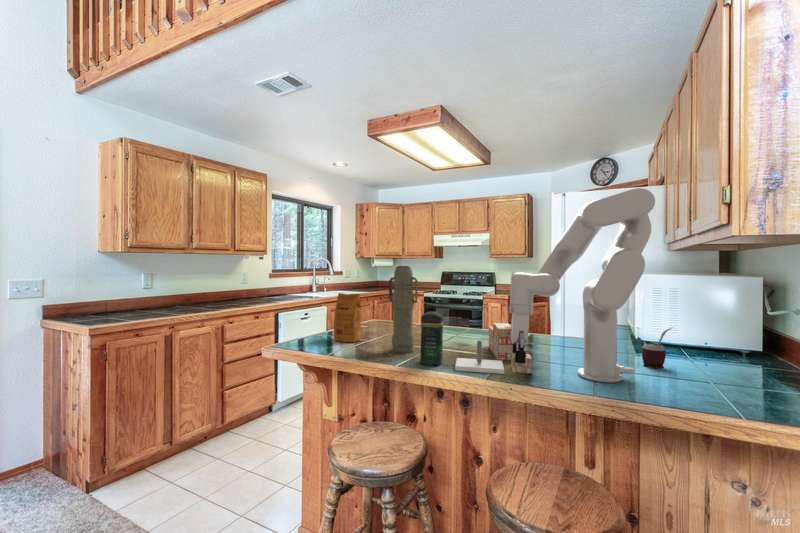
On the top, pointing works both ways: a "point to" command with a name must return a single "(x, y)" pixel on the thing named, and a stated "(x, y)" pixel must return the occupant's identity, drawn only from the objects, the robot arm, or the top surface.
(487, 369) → the needle board
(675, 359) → the top surface
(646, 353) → the mate gourd
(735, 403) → the top surface
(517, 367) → the bead
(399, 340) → the thermos
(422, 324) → the coffee jar
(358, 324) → the coffee package
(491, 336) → the food package box
